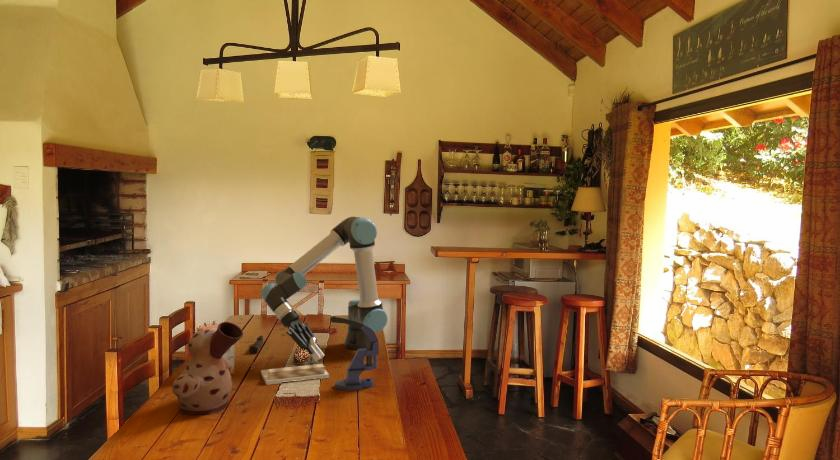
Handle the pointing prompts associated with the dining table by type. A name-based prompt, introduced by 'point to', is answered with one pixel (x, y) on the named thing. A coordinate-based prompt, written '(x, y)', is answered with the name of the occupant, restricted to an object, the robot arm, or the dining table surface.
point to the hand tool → (256, 345)
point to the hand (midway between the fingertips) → (320, 358)
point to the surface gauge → (311, 359)
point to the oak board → (296, 371)
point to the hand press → (359, 359)
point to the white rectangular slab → (278, 381)
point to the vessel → (207, 371)
